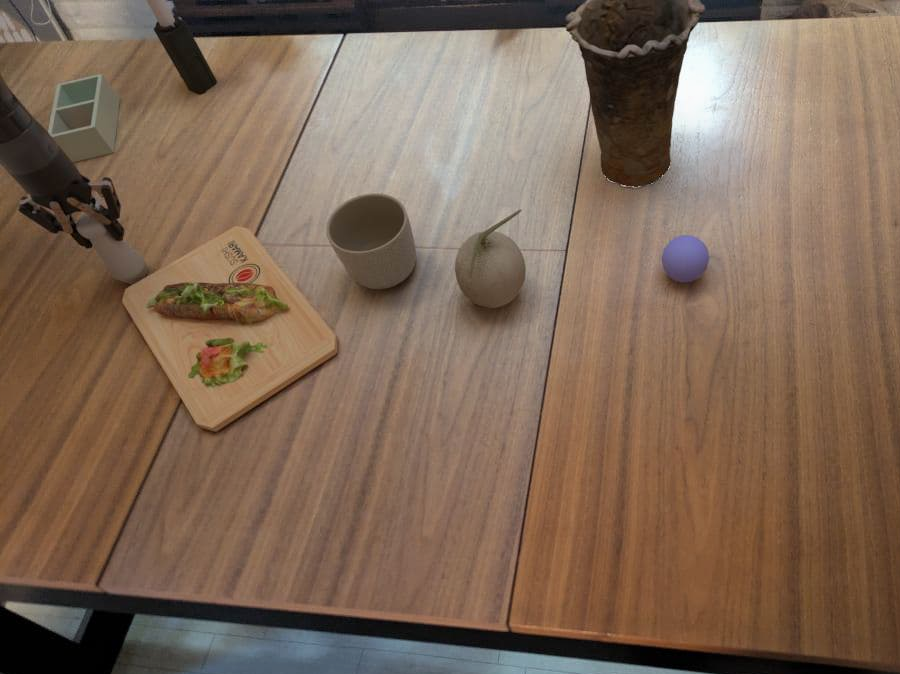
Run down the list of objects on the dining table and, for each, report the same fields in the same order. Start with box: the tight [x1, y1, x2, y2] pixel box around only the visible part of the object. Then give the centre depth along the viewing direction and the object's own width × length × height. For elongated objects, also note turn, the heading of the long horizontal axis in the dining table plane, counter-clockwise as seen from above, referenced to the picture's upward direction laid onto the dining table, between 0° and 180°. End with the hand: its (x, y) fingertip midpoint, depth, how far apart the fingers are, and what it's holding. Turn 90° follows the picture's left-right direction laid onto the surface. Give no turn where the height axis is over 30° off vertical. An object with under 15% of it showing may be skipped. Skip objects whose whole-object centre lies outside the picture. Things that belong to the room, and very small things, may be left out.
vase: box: [564, 0, 706, 187], centre depth 112 cm, size 18×18×27 cm
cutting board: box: [121, 225, 339, 433], centre depth 109 cm, size 35×23×8 cm
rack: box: [47, 73, 121, 163], centre depth 140 cm, size 9×17×6 cm, turn 14°
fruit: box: [454, 208, 527, 309], centre depth 104 cm, size 10×12×15 cm
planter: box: [325, 192, 417, 290], centre depth 111 cm, size 12×12×11 cm
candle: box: [145, 0, 218, 95], centre depth 136 cm, size 5×5×25 cm
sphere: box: [661, 234, 710, 283], centre depth 106 cm, size 7×7×7 cm
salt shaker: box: [75, 213, 148, 285], centre depth 115 cm, size 6×6×13 cm
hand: (105, 240), depth 113 cm, fingers closed on salt shaker, 4 cm apart
